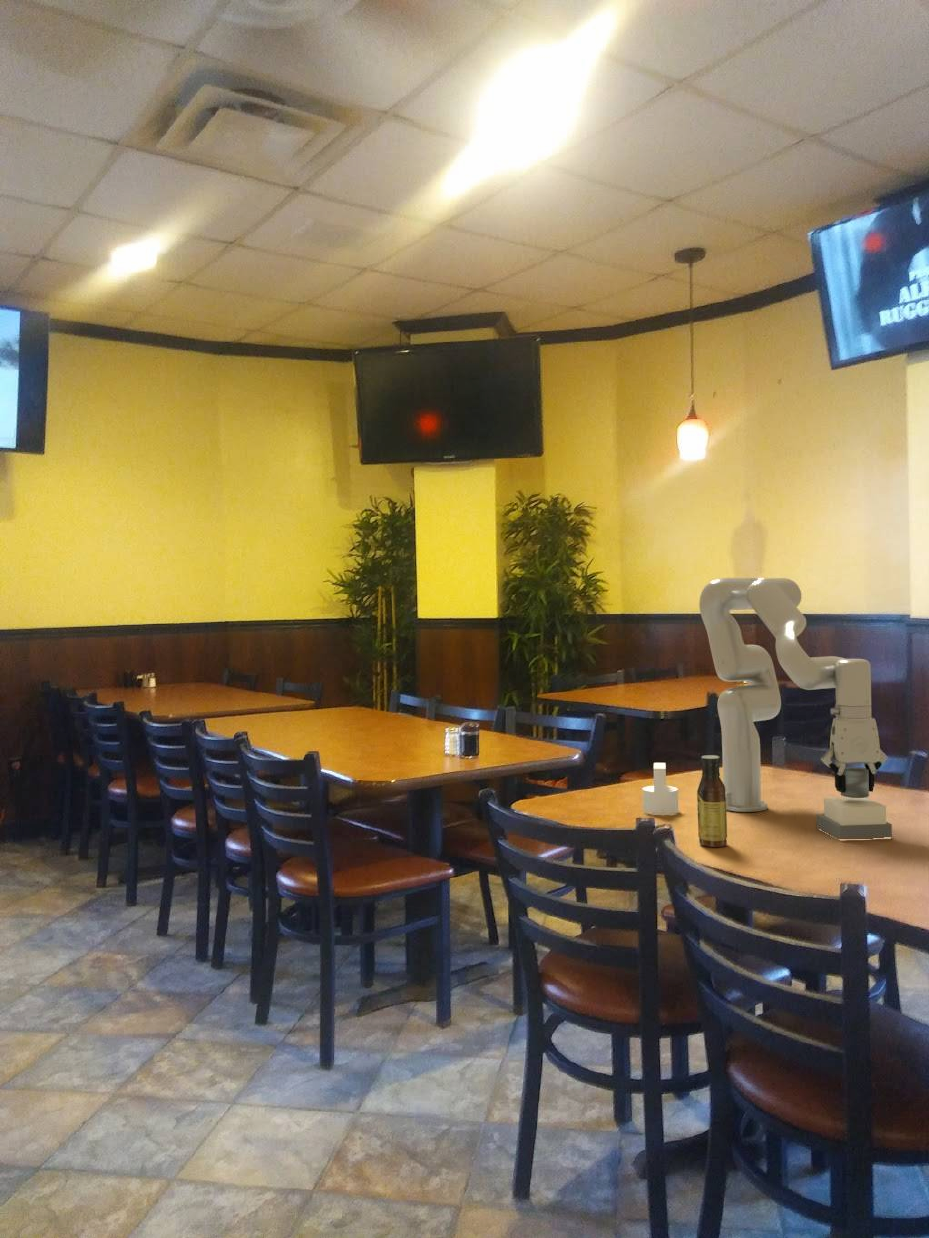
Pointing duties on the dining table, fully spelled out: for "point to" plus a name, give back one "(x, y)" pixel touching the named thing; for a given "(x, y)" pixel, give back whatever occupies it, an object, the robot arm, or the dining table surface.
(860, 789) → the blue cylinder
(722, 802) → the sauce bottle
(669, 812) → the cylinder with rectangular tab
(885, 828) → the tower bottom
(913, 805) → the dining table surface
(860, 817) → the tower top
